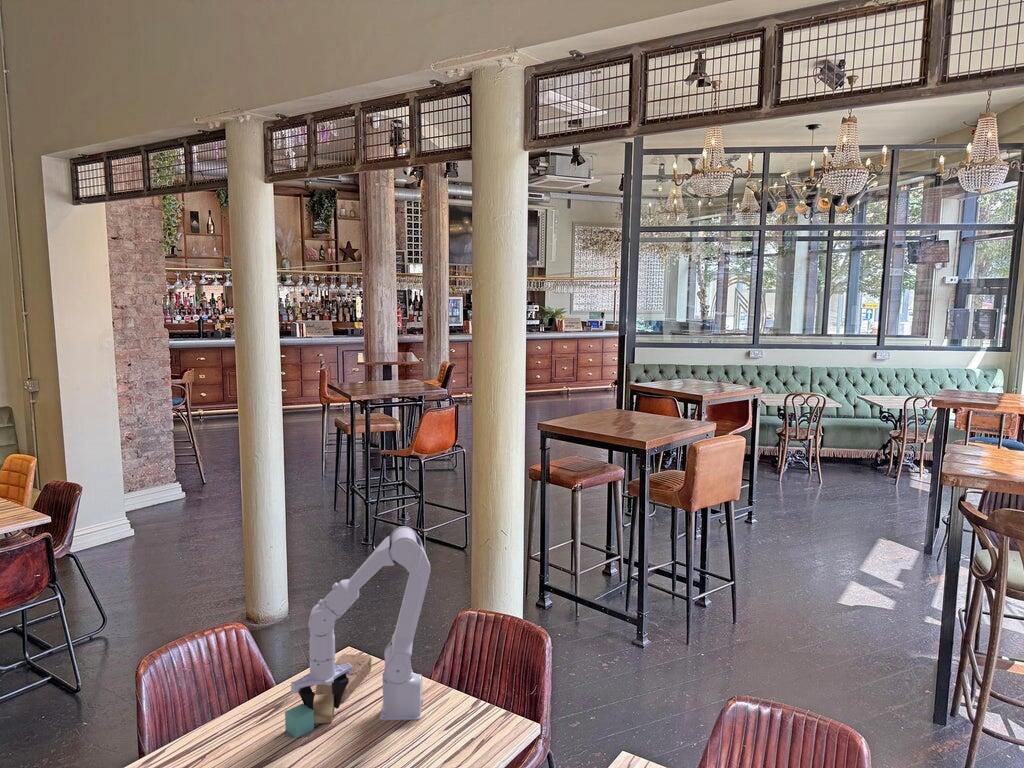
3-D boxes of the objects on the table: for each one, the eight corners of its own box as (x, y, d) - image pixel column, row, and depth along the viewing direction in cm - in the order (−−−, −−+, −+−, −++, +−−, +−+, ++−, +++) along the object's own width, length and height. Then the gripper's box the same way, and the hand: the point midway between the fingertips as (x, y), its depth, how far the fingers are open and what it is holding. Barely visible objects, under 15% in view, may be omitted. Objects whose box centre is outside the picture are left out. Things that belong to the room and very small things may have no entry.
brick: (345, 704, 170) (345, 686, 169) (314, 700, 172) (313, 682, 171) (372, 671, 186) (372, 654, 186) (343, 668, 188) (343, 651, 187)
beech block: (334, 712, 166) (334, 694, 165) (331, 722, 161) (331, 703, 161) (315, 713, 165) (314, 694, 165) (311, 723, 161) (311, 704, 160)
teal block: (302, 721, 162) (302, 703, 161) (314, 729, 159) (313, 710, 158) (285, 730, 158) (285, 711, 158) (296, 738, 155) (296, 718, 155)
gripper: (299, 672, 154) (300, 730, 155) (358, 653, 164) (358, 708, 165) (286, 660, 160) (287, 716, 161) (344, 642, 169) (344, 695, 170)
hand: (322, 711), depth 163 cm, fingers closed on beech block, 6 cm apart
